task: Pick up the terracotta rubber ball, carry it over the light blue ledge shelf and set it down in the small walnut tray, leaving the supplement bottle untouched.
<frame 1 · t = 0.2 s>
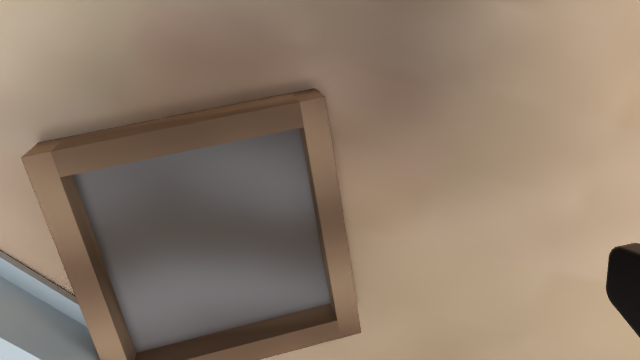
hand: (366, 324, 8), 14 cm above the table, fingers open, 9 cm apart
light blue ledge shelf: (103, 342, 23), on the table
walnut tray: (213, 235, 23), on the table
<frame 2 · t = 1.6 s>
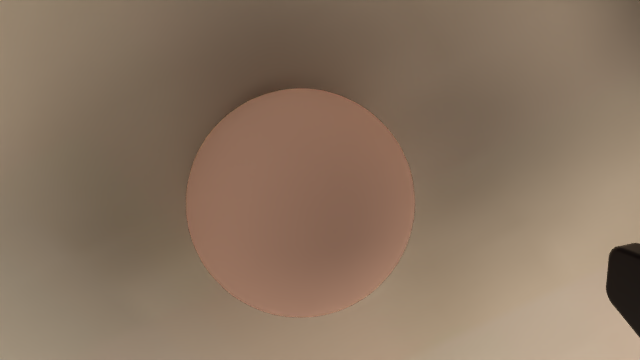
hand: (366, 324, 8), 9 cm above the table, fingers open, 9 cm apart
ball: (285, 168, 16), on the table
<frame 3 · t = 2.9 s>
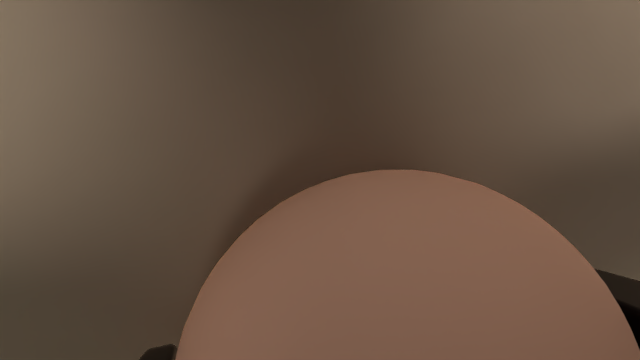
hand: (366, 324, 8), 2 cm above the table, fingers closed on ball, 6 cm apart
ball: (343, 277, 10), on the table, touching gripper
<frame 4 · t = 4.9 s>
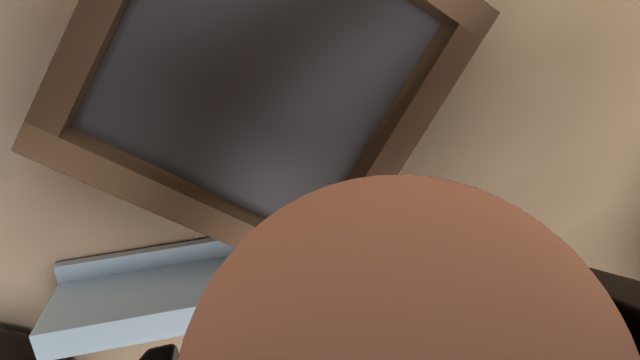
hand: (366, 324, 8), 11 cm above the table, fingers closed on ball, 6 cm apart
ball: (344, 281, 10), point 10 cm above the table, touching gripper
light blue ledge shelf: (277, 254, 20), on the table
walnut tray: (261, 70, 18), on the table
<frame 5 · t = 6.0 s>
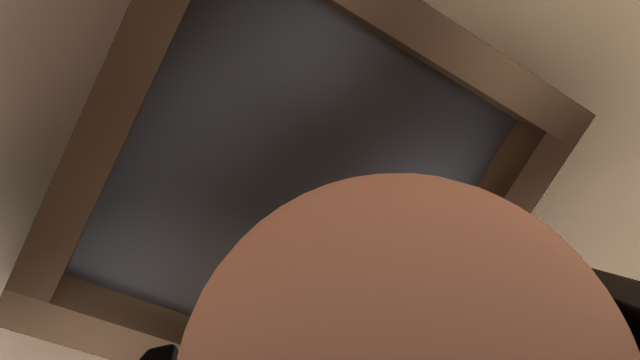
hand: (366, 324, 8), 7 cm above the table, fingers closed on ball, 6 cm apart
ball: (343, 280, 10), point 5 cm above the table, touching gripper
walnut tray: (297, 186, 14), on the table
when the fingers open (3 cm above the table, at t = 7.1 s): ball drops 1 cm, resting on walnut tray.
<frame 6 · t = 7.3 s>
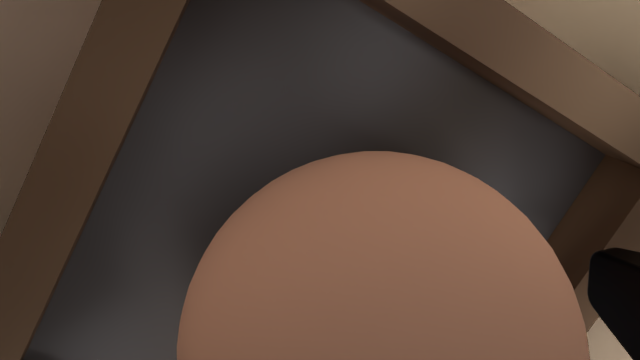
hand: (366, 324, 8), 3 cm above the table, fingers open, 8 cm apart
ball: (331, 254, 11), point 1 cm above the table, touching walnut tray
walnut tray: (324, 239, 11), on the table
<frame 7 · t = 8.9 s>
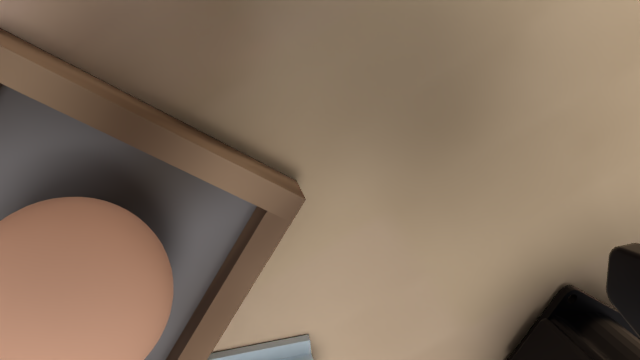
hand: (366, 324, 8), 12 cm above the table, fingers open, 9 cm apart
ball: (90, 249, 18), point 1 cm above the table, touching walnut tray
walnut tray: (92, 240, 19), on the table
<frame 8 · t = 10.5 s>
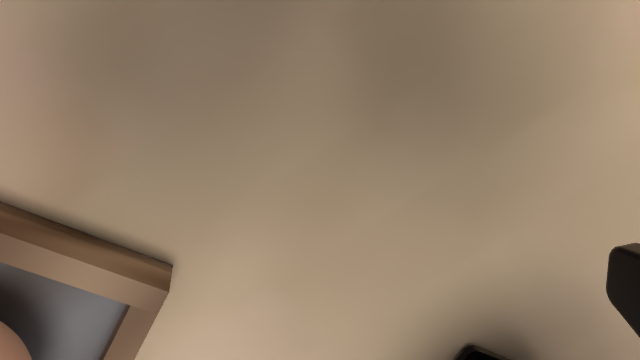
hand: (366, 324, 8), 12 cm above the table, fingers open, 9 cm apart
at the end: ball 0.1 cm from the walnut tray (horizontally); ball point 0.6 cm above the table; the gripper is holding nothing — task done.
